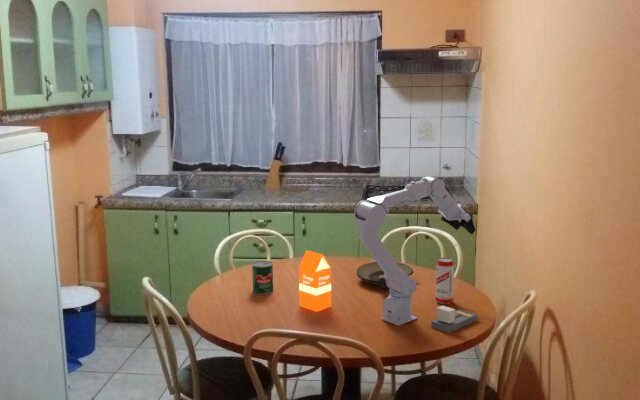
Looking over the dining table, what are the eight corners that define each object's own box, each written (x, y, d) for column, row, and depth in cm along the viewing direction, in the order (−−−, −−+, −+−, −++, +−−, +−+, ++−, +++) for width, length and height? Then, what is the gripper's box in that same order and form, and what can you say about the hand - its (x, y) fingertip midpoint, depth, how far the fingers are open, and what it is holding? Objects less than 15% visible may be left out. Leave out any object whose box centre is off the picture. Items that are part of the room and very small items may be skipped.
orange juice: (314, 300, 231) (313, 248, 227) (331, 306, 225) (331, 252, 221) (299, 305, 226) (298, 252, 222) (316, 312, 219) (315, 257, 216)
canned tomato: (260, 296, 236) (260, 268, 234) (248, 291, 242) (247, 263, 240) (277, 291, 241) (276, 263, 239) (265, 286, 247) (264, 259, 245)
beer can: (440, 297, 232) (441, 256, 229) (456, 301, 228) (457, 259, 225) (432, 302, 228) (433, 260, 225) (447, 306, 224) (449, 263, 221)
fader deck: (448, 333, 200) (448, 326, 200) (431, 326, 205) (431, 320, 205) (477, 320, 210) (477, 314, 210) (460, 314, 216) (460, 308, 215)
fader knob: (449, 323, 201) (449, 311, 201) (436, 319, 205) (436, 307, 204) (454, 321, 203) (455, 309, 202) (442, 317, 207) (442, 305, 206)
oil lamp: (421, 277, 257) (421, 259, 255) (392, 299, 231) (393, 279, 230) (371, 269, 268) (372, 252, 266) (339, 290, 242) (339, 271, 241)
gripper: (467, 198, 208) (487, 225, 214) (439, 192, 220) (459, 217, 226) (454, 214, 206) (474, 240, 212) (427, 207, 219) (447, 232, 225)
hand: (465, 229), depth 219 cm, fingers open, 7 cm apart
